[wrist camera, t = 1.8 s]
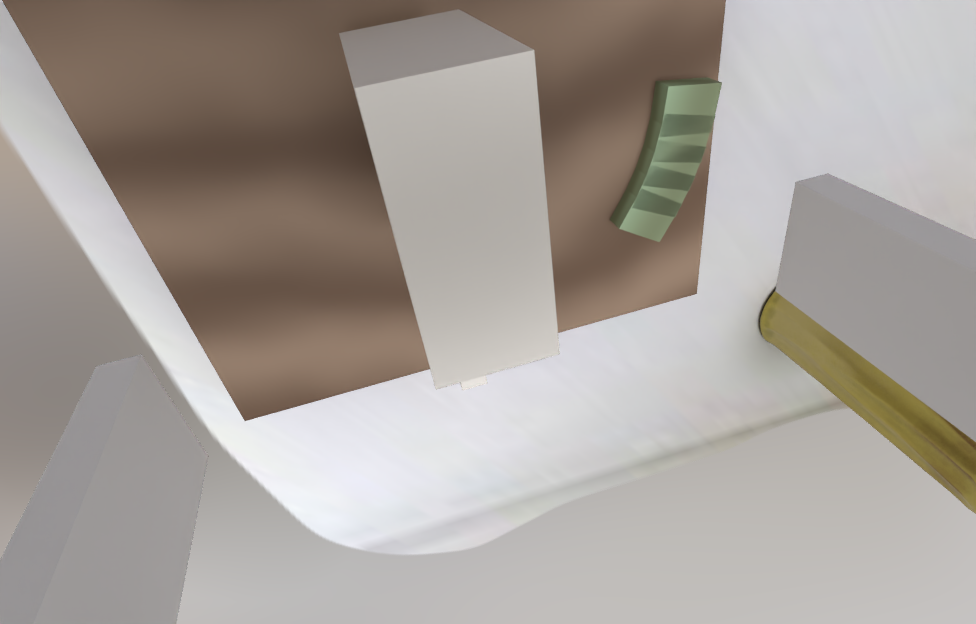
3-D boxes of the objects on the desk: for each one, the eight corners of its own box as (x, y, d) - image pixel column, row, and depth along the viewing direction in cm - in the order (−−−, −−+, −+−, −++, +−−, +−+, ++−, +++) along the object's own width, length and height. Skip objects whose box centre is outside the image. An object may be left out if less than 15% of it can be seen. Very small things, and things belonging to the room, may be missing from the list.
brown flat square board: (-112, -263, 15) (-194, -301, 12) (723, -362, 18) (788, -408, 15) (248, 393, 29) (242, 436, 26) (677, 275, 32) (707, 303, 29)
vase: (807, 347, 38) (1017, 524, 27) (740, 338, 36) (939, 527, 25) (862, 270, 36) (1123, 432, 24) (793, 255, 33) (1045, 426, 22)
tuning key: (335, 19, 19) (354, 87, 11) (439, -2, 19) (533, 49, 11) (428, 365, 28) (476, 541, 20) (498, 345, 28) (572, 510, 20)
